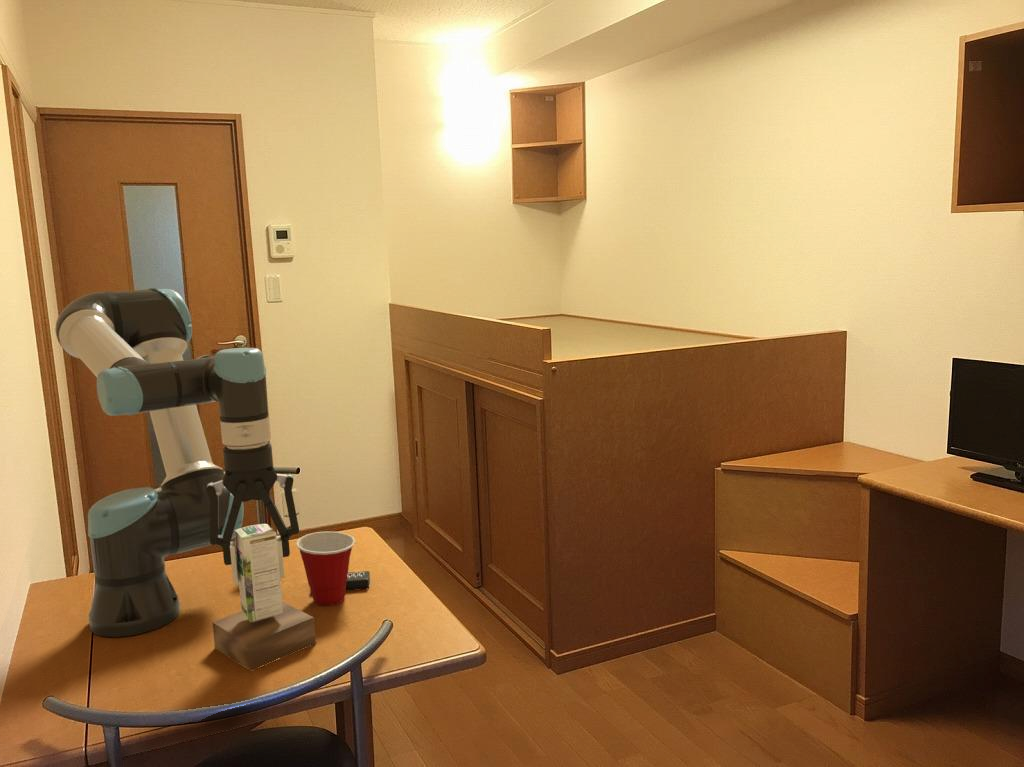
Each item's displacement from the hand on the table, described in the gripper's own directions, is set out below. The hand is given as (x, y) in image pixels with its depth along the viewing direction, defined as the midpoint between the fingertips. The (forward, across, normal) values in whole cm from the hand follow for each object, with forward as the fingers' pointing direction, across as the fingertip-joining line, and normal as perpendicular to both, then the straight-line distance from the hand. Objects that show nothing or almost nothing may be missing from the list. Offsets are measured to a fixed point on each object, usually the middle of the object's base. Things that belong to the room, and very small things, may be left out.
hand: (259, 578), depth 137 cm
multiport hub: (+13, +15, +20) cm, 28 cm away
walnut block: (+12, 0, 0) cm, 12 cm away
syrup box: (+6, 0, 0) cm, 6 cm away
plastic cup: (+12, +12, +15) cm, 23 cm away
